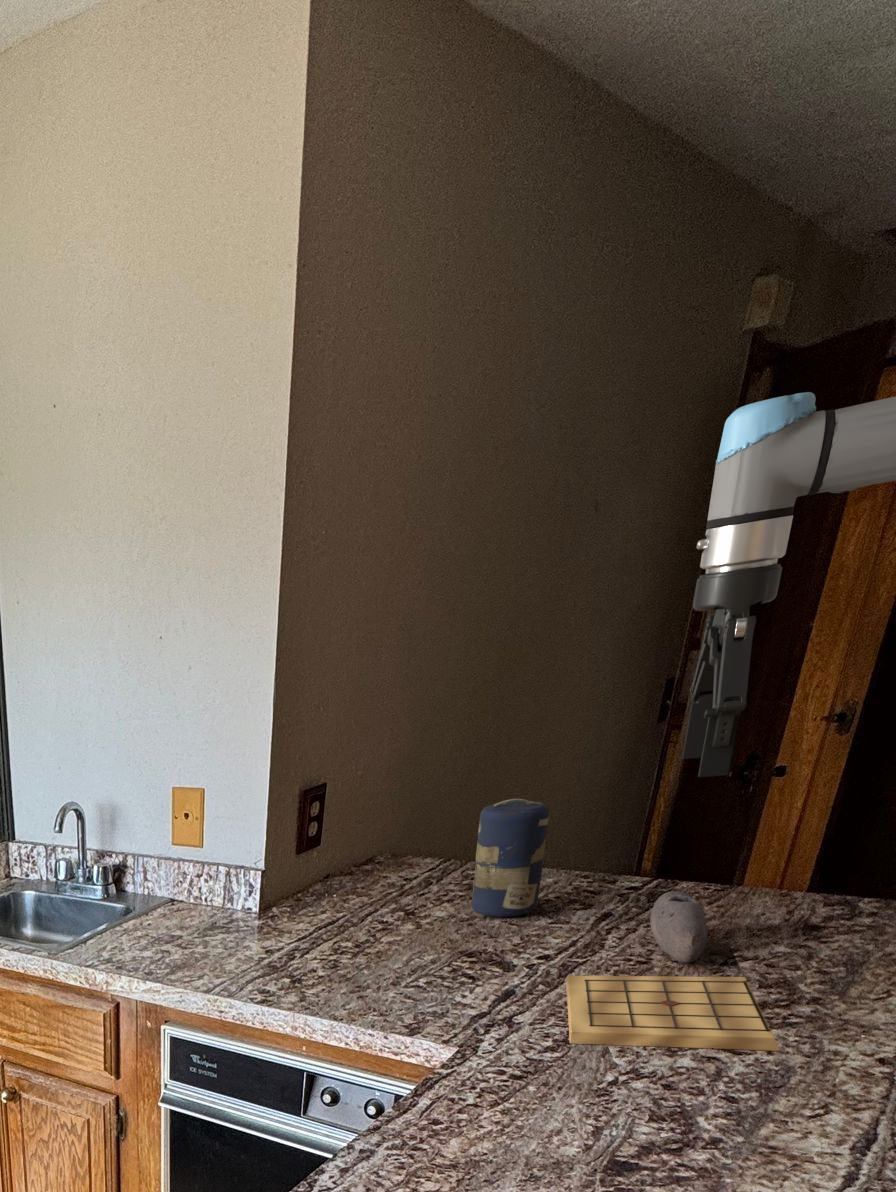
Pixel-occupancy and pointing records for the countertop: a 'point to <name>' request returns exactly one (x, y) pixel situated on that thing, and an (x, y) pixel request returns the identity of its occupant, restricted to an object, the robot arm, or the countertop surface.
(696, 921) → the perforated stone tool
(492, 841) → the canister
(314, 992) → the countertop surface
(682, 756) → the robot arm
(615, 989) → the board
